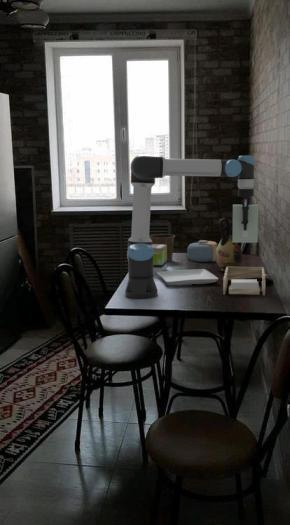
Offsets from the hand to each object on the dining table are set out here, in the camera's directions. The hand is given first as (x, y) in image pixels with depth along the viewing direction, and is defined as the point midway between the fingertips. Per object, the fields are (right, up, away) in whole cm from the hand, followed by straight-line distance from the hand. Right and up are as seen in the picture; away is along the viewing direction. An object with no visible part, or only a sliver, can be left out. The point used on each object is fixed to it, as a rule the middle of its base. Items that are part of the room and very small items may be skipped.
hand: (245, 236), depth 257 cm
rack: (0, -25, +1) cm, 25 cm away
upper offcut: (-2, -24, -11) cm, 27 cm away
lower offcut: (-2, -27, -10) cm, 29 cm away
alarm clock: (-12, -11, +81) cm, 83 cm away
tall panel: (0, -3, 0) cm, 3 cm away
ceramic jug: (-2, -18, +43) cm, 46 cm away
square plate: (-27, -23, +18) cm, 40 cm away
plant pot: (-38, -12, +77) cm, 87 cm away
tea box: (-42, -18, +45) cm, 64 cm away
